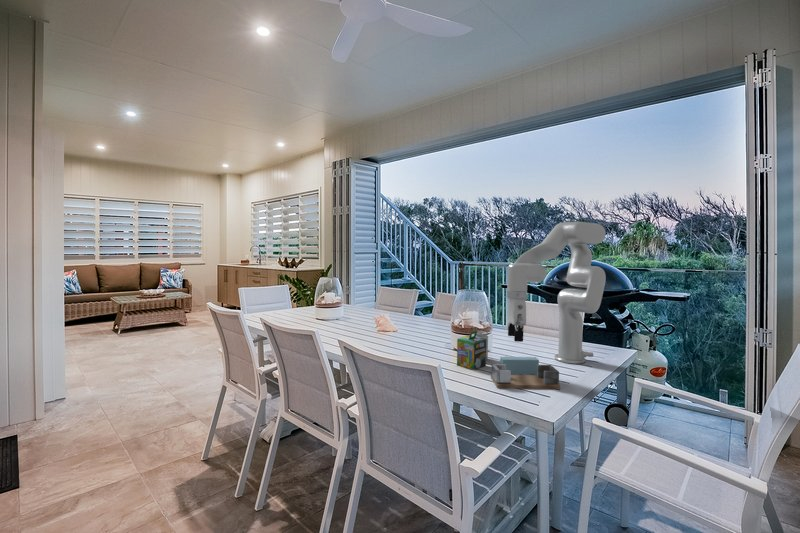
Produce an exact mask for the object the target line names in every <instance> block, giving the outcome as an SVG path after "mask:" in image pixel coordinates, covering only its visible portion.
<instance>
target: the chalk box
mask: <svg viewBox="0 0 800 533" xmlns="http://www.w3.org/2000/svg"><path fill="white" fill-rule="evenodd" d="M477 331H478V330H473V331H471V332H470V333H469V335H465V336H462V337H460V338H459V337H458V338H457V339H456V342H457V343H456V344H457V345H456V366H460V367H463V368H467V369H469V370H473V371H474V370H477V369H480V368H482V367H485V366H487V359H486V343H487V339H484V338H480V337H476V334H477ZM473 333H474V336H472V334H473Z"/></svg>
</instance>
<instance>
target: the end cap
mask: <svg viewBox="0 0 800 533" xmlns="http://www.w3.org/2000/svg"><path fill="white" fill-rule="evenodd" d="M491 375H492V376H493V378H494V379H495V381H496V383H511V375H512V374H511V371H510V370H506V365H505V364H500V363H492V364H491Z"/></svg>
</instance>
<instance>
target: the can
mask: <svg viewBox="0 0 800 533" xmlns="http://www.w3.org/2000/svg"><path fill="white" fill-rule="evenodd" d="M472 336H474V333H473V334H472ZM476 337H480V338H484V339H487V343H486V360H487V359H488V358H489V336H488V334H487V332H486V331H483V330H477V334H476Z"/></svg>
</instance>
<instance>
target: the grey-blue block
mask: <svg viewBox="0 0 800 533" xmlns="http://www.w3.org/2000/svg"><path fill="white" fill-rule="evenodd" d="M499 360H500V363H499V364H505V365H506V370H510V371H511V375H519V374H526V375H537V365H540V360H539V359H538V358H537V357H536V356H535V357H534V356H500V358H499Z"/></svg>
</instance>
